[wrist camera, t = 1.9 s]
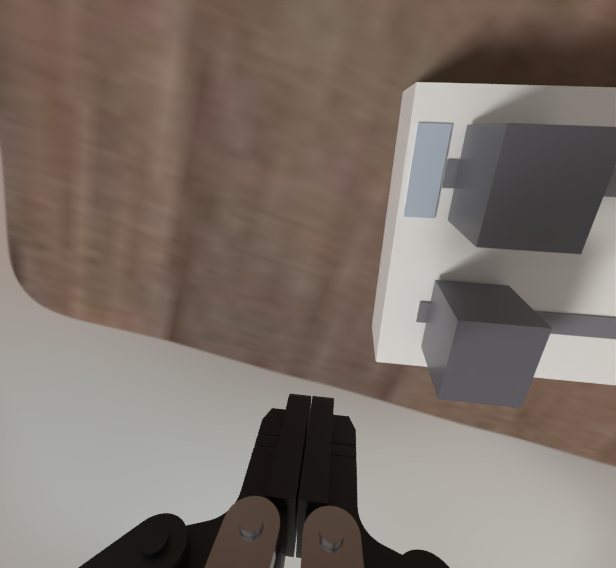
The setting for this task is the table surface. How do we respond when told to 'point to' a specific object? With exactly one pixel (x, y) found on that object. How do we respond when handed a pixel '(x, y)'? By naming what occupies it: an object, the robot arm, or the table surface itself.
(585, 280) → the switch panel
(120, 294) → the table surface
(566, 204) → the inner tab
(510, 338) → the outer tab
